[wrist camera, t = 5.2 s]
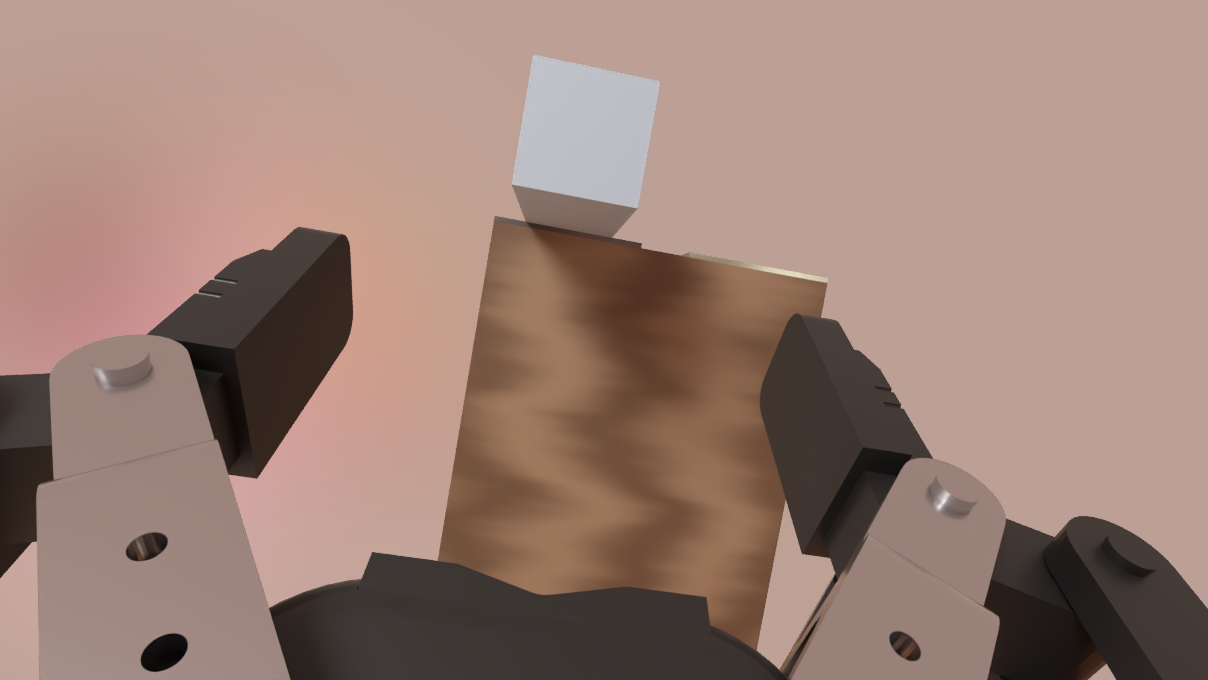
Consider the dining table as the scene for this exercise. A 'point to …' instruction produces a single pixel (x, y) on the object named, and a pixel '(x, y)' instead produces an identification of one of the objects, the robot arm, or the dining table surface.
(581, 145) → the lever
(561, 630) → the robot arm
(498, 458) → the wooden block
